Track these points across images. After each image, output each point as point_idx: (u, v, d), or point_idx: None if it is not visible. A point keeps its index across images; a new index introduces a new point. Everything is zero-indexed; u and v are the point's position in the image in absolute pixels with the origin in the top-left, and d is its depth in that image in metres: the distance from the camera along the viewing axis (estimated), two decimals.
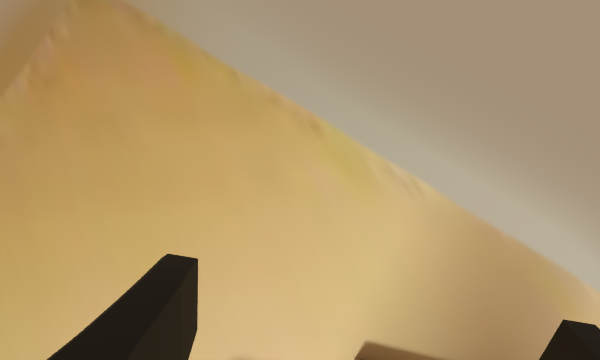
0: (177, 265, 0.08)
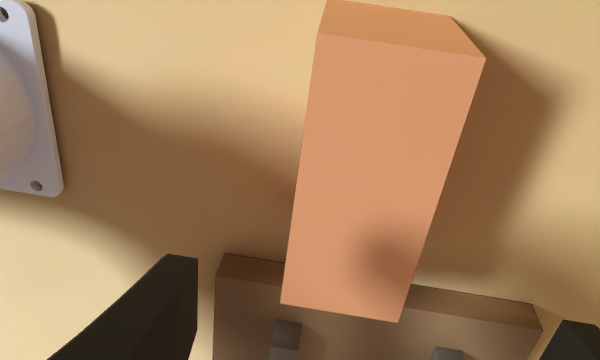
0: (176, 264, 0.08)
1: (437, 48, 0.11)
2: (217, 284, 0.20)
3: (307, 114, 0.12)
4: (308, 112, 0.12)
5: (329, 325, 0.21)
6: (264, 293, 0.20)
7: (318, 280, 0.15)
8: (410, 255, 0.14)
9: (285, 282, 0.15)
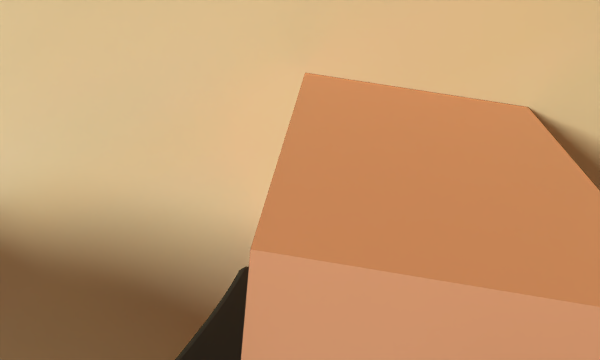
0: None
1: (572, 284, 0.04)
2: None
3: None
4: None
5: None
6: None
7: None
8: None
9: None
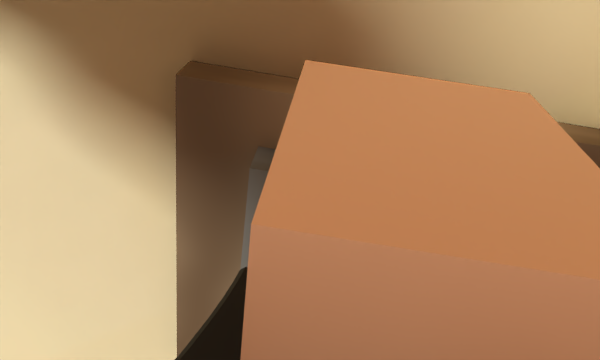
0: None
1: (577, 259, 0.04)
2: (178, 89, 0.15)
3: None
4: None
5: None
6: (242, 102, 0.15)
7: None
8: None
9: None
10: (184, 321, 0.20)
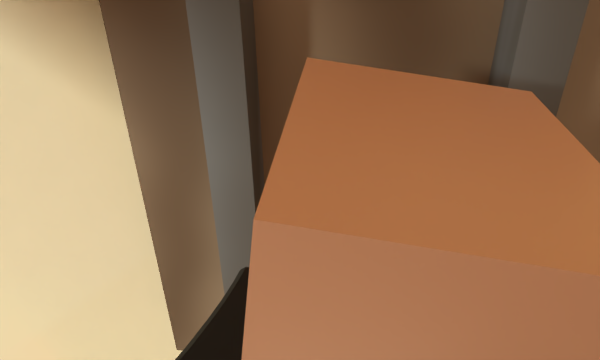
0: None
1: (580, 256, 0.04)
2: None
3: None
4: None
5: None
6: None
7: None
8: None
9: None
10: (165, 256, 0.16)
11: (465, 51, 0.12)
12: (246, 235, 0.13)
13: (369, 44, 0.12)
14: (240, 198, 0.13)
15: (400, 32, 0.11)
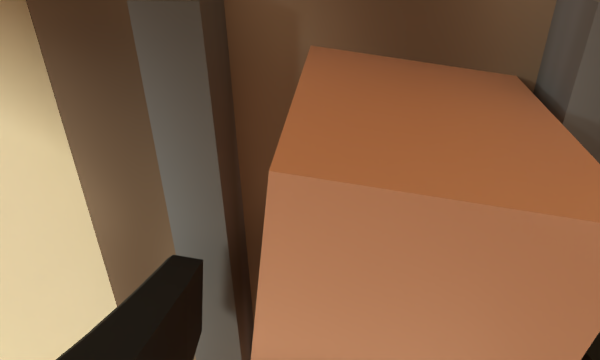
0: (182, 265, 0.08)
1: (544, 202, 0.05)
2: None
3: (258, 314, 0.06)
4: (259, 311, 0.06)
5: None
6: None
7: None
8: None
9: None
10: None
11: None
12: (222, 310, 0.11)
13: None
14: (213, 269, 0.10)
15: None
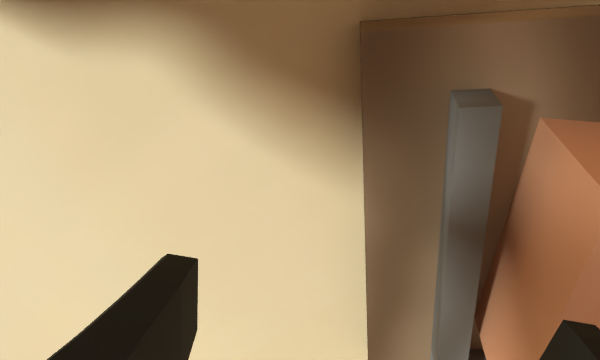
0: (176, 264, 0.08)
1: None
2: (363, 47, 0.14)
3: (583, 272, 0.12)
4: (584, 270, 0.12)
5: (531, 80, 0.14)
6: (431, 45, 0.14)
7: None
8: None
9: None
10: (374, 300, 0.20)
11: None
12: (469, 285, 0.17)
13: None
14: (470, 258, 0.16)
15: None
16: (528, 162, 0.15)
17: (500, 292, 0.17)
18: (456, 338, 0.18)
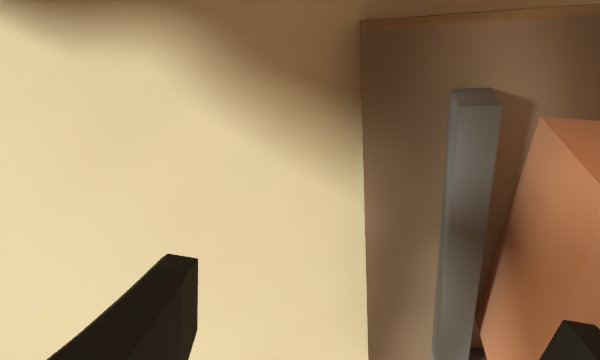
0: (176, 265, 0.08)
1: None
2: (363, 46, 0.14)
3: (583, 270, 0.12)
4: (585, 268, 0.12)
5: (531, 79, 0.14)
6: (432, 44, 0.14)
7: None
8: None
9: None
10: (375, 299, 0.20)
11: None
12: (469, 284, 0.17)
13: None
14: (470, 257, 0.16)
15: None
16: (528, 161, 0.15)
17: (500, 291, 0.17)
18: (456, 337, 0.18)
